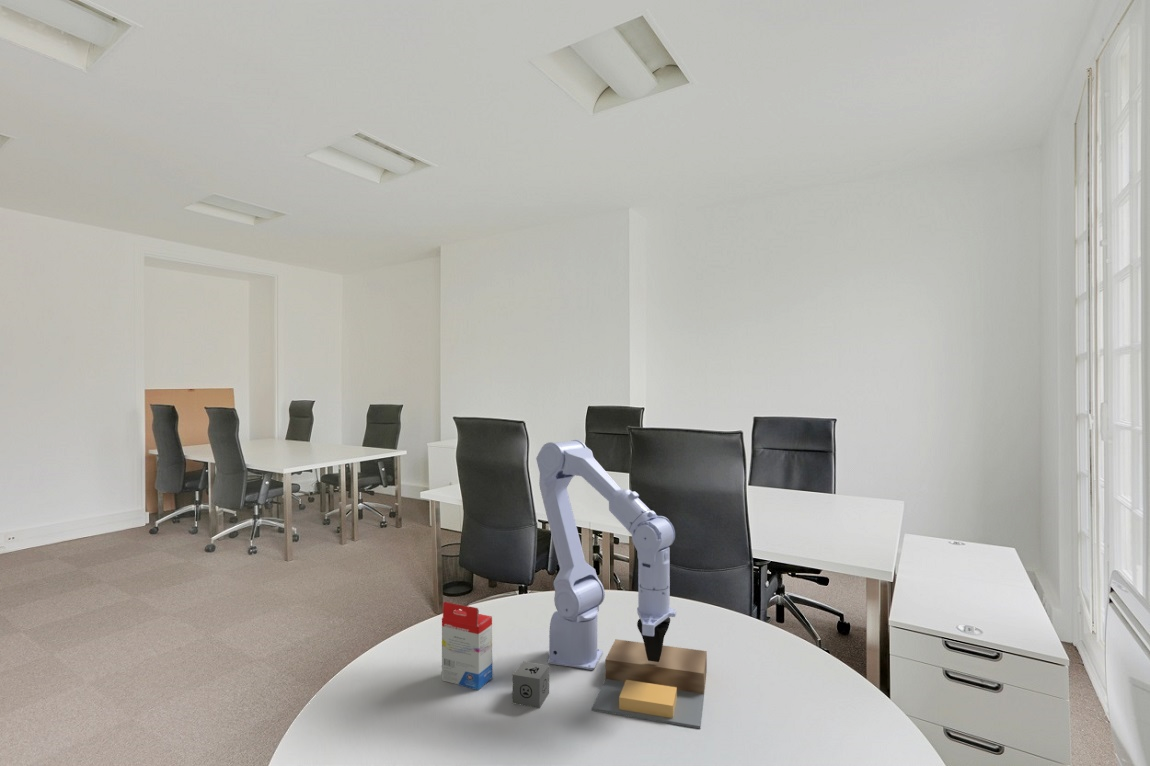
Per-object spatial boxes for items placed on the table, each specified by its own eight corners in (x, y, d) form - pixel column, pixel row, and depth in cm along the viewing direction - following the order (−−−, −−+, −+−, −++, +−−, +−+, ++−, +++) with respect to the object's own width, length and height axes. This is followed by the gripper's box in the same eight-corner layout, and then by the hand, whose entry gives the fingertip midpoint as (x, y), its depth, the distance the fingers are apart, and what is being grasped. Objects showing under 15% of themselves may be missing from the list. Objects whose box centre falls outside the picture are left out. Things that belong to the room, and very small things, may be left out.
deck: (605, 681, 103) (605, 659, 103) (615, 659, 111) (615, 639, 112) (703, 696, 98) (703, 673, 98) (706, 672, 106) (706, 651, 106)
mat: (591, 710, 93) (591, 707, 93) (606, 678, 104) (606, 676, 104) (700, 728, 88) (700, 726, 88) (704, 693, 99) (704, 691, 99)
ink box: (493, 678, 104) (493, 600, 104) (478, 691, 99) (478, 609, 100) (456, 669, 107) (457, 593, 108) (440, 680, 103) (440, 601, 103)
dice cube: (539, 708, 94) (539, 679, 94) (512, 703, 95) (512, 674, 95) (549, 693, 99) (549, 665, 99) (523, 689, 100) (523, 661, 100)
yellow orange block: (626, 679, 99) (626, 691, 99) (619, 697, 93) (619, 709, 93) (676, 687, 96) (676, 698, 96) (672, 705, 90) (672, 718, 90)
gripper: (671, 601, 93) (671, 682, 93) (679, 574, 107) (679, 645, 107) (630, 596, 95) (630, 676, 95) (643, 571, 109) (643, 640, 109)
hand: (653, 659), depth 101 cm, fingers closed
